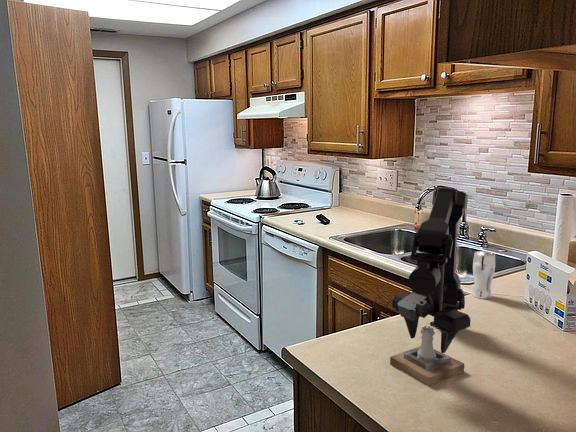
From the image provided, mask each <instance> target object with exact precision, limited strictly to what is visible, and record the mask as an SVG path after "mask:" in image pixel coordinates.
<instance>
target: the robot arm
mask: <svg viewBox="0 0 576 432" xmlns="http://www.w3.org/2000/svg"><path fill="white" fill-rule="evenodd" d="M432 193H433V194H432V201H431V205H432V207H431V210H430V213H429V216H428V219H427V220H426V221H423V222H422V223H420V225H419V227H418V228H417V229H418V230H417V231H416V232H414V237H413V243H412V248H411V253H410V261H411V260H412V261H417V262H416V266H415V268H414V269H413V270H412V272H411V273H410V274H409V276H408V285H409V288H410V289H411V291H412V292H411V293H410V292H404V293H400V294H395V295H394V297H393V298H392V302H391V304H392V305H391V306H392V308H394V309H395V311H396V312H397V313H399V315H400V317H402V318H403V320H404V321H405V324H406V327H407V331H408V333H409V334H408V335H409V337H410V339H415V337H416V335H417V330H418V326H419V320H420V318H422V319H425V318H426V317H427V316H428V315H429V316H432V317H433V321H430V322H429V325H431V326H433V327H435V328H437V329H438V331H439V332H440V333H441V334H440V352H441V353H443V354H445V353H446V352H447V350H448V349H449V347H450V345H451V343H452V342H453V340H454V339H455V337H456V335H457V334H458V333H459V331H462V330H465V329H467V328H471V317H470V316H469V314H467V313H466V312H465V313H464V312H462V309H465V306H466V305H465V303H466V302H465V301H466V299H465V298H466V297H465V294H464V290H463V288H461V283H462V282H461V279H460V277H459V276H458V274H457V273H456V263H457V262H456V261H457V245H458V227H459V226H458V225H459V224H458V223H459V221H460V220H461V218H462V217H463V215H464V214H465V211H466V210H465V209H467V208H468V200H469V199H468V194H467V193H466V192H464V191H462V190H459V189H458V188H455V187H447V186H446V187H443V186H439V187H437V188H435V190H433V191H432Z"/></svg>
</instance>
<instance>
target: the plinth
mask: <svg viewBox="0 0 576 432" xmlns="http://www.w3.org/2000/svg"><path fill="white" fill-rule="evenodd" d="M420 348H421V345H419V346H417V347H414V348H411V349H409V350H405V351H403V352H399V353H397V354H395V355H391V356H389V364H390V365H391V366H392V367H394V368H395V369H398V370H399V371H401V372H402V373H404V374H406V375H408V376H409V377H412V378H413V379H416V380H417V381H419V382H421V383H422V384H424V385H425V386H427V387H431V386H433V385H436V384H438V383H441V382H442V381H445V380H447V379H450V378H452V377H454V376H457V375H459V374H461V373H464V372H465V362H462V361H460V360H458V359H456V358H453V357H451V356H449V355H448V354H445V353H441V351H440V350H436V349H435V348H433V349H434V352H435V353H436V360H435V361H433V362H430V363H427V362H425V361H423V360H421V359H419V358H417V355H418V354H417V352H418V350H419V349H420Z"/></svg>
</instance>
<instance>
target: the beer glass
mask: <svg viewBox="0 0 576 432" xmlns="http://www.w3.org/2000/svg"><path fill="white" fill-rule="evenodd" d="M495 271H496V254H495V253H494V252H492V251H486V250H485V251H484V250H477V251H474V254H473V260H472V273H473V274H472V275H473V282H474V284H473V285H474V286H473V290H472V296H473V297H474V298H477V299H481V300H489V299H491V298H492V283H493V281H494V275H495Z"/></svg>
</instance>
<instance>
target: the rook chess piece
mask: <svg viewBox="0 0 576 432" xmlns="http://www.w3.org/2000/svg"><path fill="white" fill-rule="evenodd" d="M421 328H422V329H421V330H420V333H421V337H420V339H421V345H420V346H421V348H420V349H419V350H418V352H417V354H418V355H417V358H419V359H421V360H423V361H425V362H427V363H430V362H433V361H435V360H436V353H435V352H434V349H435V348H434V344H433V343H434V342H433V341H434V339H435V338H434V335H435V334H436V333H435V330H434V329H435V328H434V327H432V326H429V325H428V326H427V325H425V326H422V327H421Z"/></svg>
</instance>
